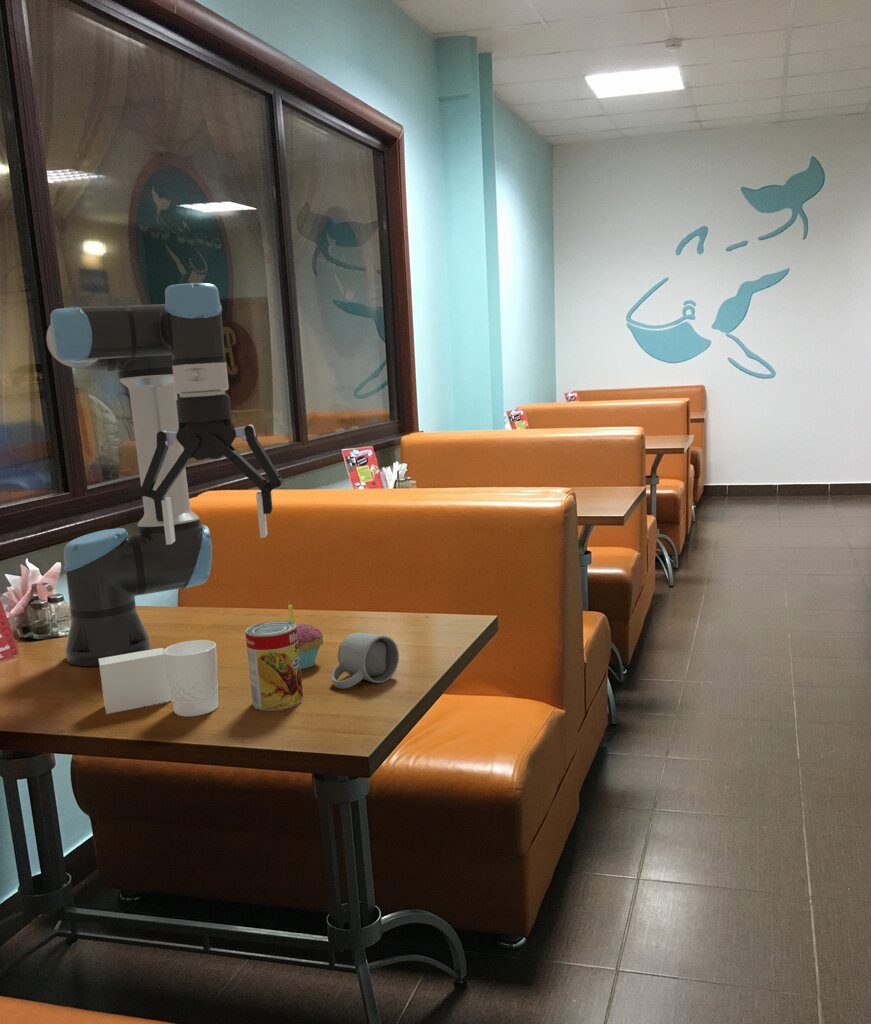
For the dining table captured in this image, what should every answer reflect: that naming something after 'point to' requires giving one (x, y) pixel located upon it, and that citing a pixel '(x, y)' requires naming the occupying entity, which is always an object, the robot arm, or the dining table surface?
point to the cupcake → (307, 642)
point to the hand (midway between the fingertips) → (217, 539)
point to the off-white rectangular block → (134, 680)
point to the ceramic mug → (366, 659)
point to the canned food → (274, 665)
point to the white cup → (192, 677)
